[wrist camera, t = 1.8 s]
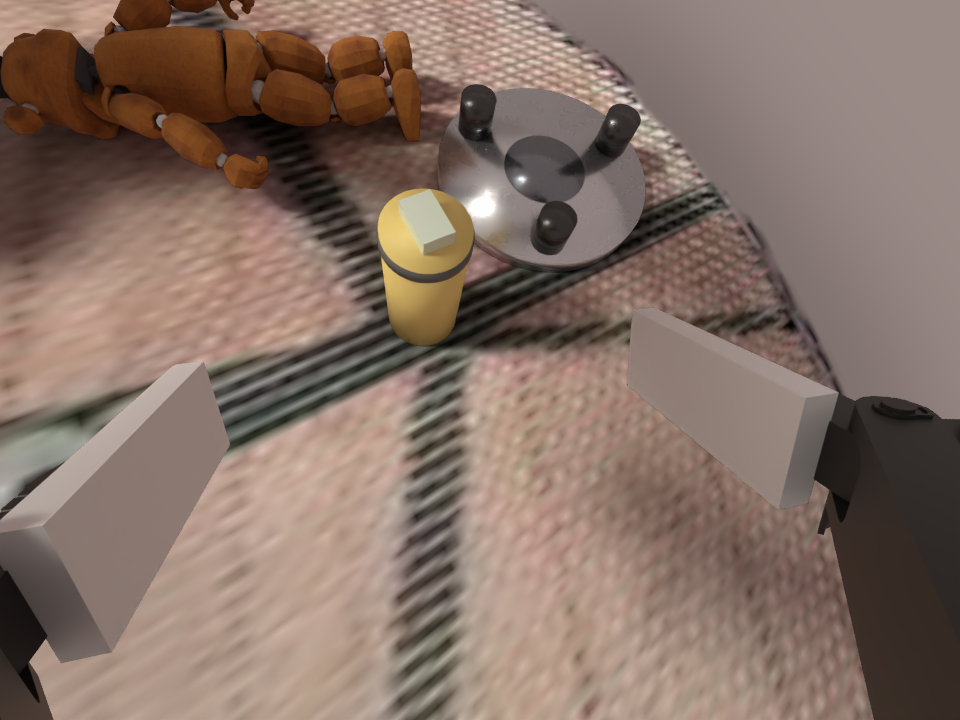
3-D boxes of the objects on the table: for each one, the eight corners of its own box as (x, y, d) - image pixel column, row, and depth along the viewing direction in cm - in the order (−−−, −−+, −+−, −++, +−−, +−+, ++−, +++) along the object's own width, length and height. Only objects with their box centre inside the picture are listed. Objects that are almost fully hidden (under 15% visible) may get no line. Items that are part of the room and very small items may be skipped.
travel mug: (375, 300, 34) (356, 193, 22) (437, 274, 35) (448, 161, 24) (406, 358, 33) (403, 277, 21) (469, 329, 34) (496, 238, 23)
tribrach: (400, 135, 39) (399, 89, 35) (569, 82, 44) (585, 36, 40) (503, 305, 35) (515, 277, 31) (675, 226, 40) (707, 192, 36)
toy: (396, 40, 44) (33, 28, 37) (397, -41, 38) (-42, -75, 31) (430, 209, 39) (9, 233, 32) (438, 147, 32) (-90, 160, 25)
